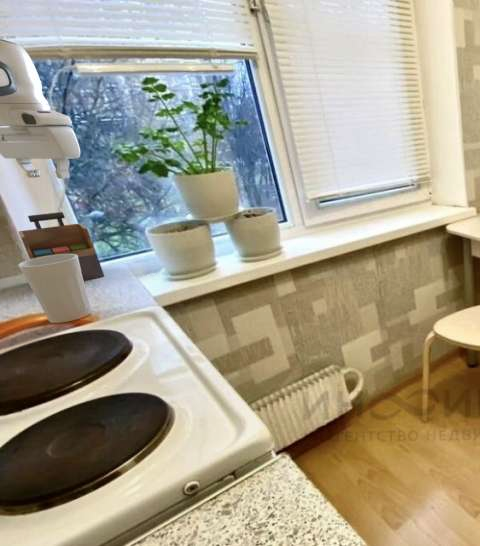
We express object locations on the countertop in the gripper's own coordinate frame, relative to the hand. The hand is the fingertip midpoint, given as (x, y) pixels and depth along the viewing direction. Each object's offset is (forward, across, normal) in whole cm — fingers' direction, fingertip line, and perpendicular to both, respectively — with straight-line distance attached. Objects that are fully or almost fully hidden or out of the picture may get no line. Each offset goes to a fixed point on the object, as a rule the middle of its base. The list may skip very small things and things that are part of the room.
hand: (49, 177), depth 102 cm
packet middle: (+18, +2, -4) cm, 19 cm away
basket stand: (+25, +2, -4) cm, 25 cm away
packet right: (+18, +4, -2) cm, 18 cm away
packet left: (+18, +1, -7) cm, 19 cm away
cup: (+25, +28, -22) cm, 44 cm away
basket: (+19, +2, -4) cm, 19 cm away
